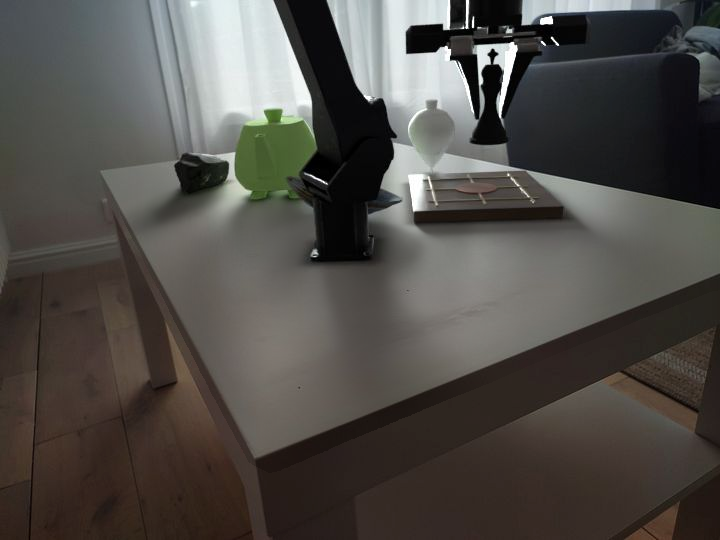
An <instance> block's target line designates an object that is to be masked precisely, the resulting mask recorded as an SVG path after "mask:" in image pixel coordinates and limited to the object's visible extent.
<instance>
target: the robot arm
mask: <svg viewBox="0 0 720 540" xmlns="http://www.w3.org/2000/svg"><path fill="white" fill-rule="evenodd" d="M272 1H273V3H274V5H275V8H276V11H277V14H278V16H279V18H280V21H281V24H282V26H283V29H284V31H285V34H286V37H287V39H288V42H289V45H290V47H291V49H292V52H293V54H294V56H295V60H296V63H297V65H298V68H299V70H300V73H301V76H302V78H303V80H304V82H305V85H306V88H307V91H308V93H309V96H310V101H311V123H312V124H311V125H312V126H311V127H312V133H313V135H314V137H315V141H316V146H317V150H316V151H315V152H314V154H313V155H312V156H311V157H310V159H309V160H308V161H307V163H306V164H305V165H304V167H303V168H302V169H301V170H300V172H299V176H300V178H301V181H302V183H303V185H304V187H305V189H306V190H308V191H311V192H313V193H314V195H313V197H312V198H313V208H312V209H313V219H314V230H315V241H314V244H313V247H312V249H311V251H310V254H309V260H310V261H315V262H316V261H350V260H351V261H353V260H371V259H372V258H373V255H374V254H373V253H374V245H375V244H374V243H375V242H374V241H375V235H373V234H370V232H369V231H370V229H369V214H368V206H367V202H368V201H374V200H377V198H378V194H379V191H380V188H381V187H382V183H383V180H384V177H385V174H386V173H387V171H388V170H389V169H390V167H391V164H392V161H394V158H395V148H394V142H393V139H397V138H398V134H396V133H395V131H394V130H393V128H392V126H391V124H390V121H389V117H388V115H389V114H388V110H387V105H386V103H385V100H384V98H382V97H375V96H367V95H364V93H363V92H362V91H361V89H359V87H358V85H357V83H356V82H355V78H354V75H353V73H352V70H351V67H350V63H349V61H348V58H347V55H346V52H345V49H344V46H343V44H342V41H341V37H340V35H339V31H338V29H337V26H336V22H335V20H334V18H333V14H332V11H331V9H330V8H331V7H330V6H329V3H328V0H272ZM523 1H524V0H448V1H447V2H448V4H447V5H448V6H447V28H448V29H444V23H429V24H427V23H426V24H414V25H413V24H412V25H409V27H408V28H407V29H406V30H405V55H418V54H433V53H434V54H436V53H437V52H438V51H439V50H440V48H445V51H447V54H445V61H449V62H455V64H456V67H457V68H458V71H459V73H460V76H461V77H462V80H463V83H464V85H465V86H464V87H465V88H466V92H467V93H466V94H467V96H468V99H469V103H470V106H471V111H472V113H473V117H474V120H475V121H478V120H479V118H480V116H481V93H480V77H479V61H478V54H477V53H474V51H473V50H474V49H475V46H487V45H488V46H489V45H490V46H491V45H506V44H509V47H510V50H505V67H504V74H503V80H502V81H503V82H502V87H501V95H500V102H499V117H500V119H501V120H504V119H505V118H506V116H507V114H508V111H509V109H510V107H511V105H512V102H513V99H514V97H515V94H516V92H517V90H518V88H519V85H520V83H521V81H522V80H523V77H524V75H525V74H526V72H527V70H528V69H529V67H530V64H531V63H532V61H533V59H534V58H535V57H542V56H544V50H542V49H541V48H540V47H541V45H542V44H543V45H544V46H572V45H573V46H574V45H589V44H590V41H591V30H592V25H591V19H590V18H589V17H588V16H587V14H574V15H573V14H572V15H557V16H554V15H553V16H548V17H542V18H541V19H540V23H536V24H535V23H534V24H523ZM508 30H512V31H511V32H507V31H508Z"/></svg>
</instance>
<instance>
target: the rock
mask: <svg viewBox="0 0 720 540" xmlns="http://www.w3.org/2000/svg"><path fill="white" fill-rule="evenodd" d="M173 167H174V171H175V174H176V177H177V179H178V181H179V187H180V189H181V190H183V191H184V192H185V193H187V194H188V193H191V192H196V191H200V190H201V189H205V188H209V187H210V188H211V187H213V186H217V185H221V184H223V183H225V181H227V179H228V175H229V174H230V173H229V171H230V162H229V161H228V160H226V159H221V158H220V157H218V156H215V155H212V154H208V153H196V152H184V153H182V154H181V157H180V158H179V160H178V161H177V162H175V163H174V165H173Z"/></svg>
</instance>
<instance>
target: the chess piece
mask: <svg viewBox="0 0 720 540" xmlns="http://www.w3.org/2000/svg"><path fill="white" fill-rule="evenodd" d="M486 55H487V57H489V61H490V63H489V64H488V63H487V64H485V65H484V66H483V67H482V69H481V72H480V75H481V78H482V83H481V84H479V88H480V90H481V93H482V95H483V101H484V102H483V107H482V108H483V109H482V112H481V113H480V117H479V120H477V122H476V125H475V127H474V129H473V130H472V132H471V136H470V137H469V138H468V139H469V140H468V142H469V143H470V144H472V145H476V146H498V145H505V144H508V143H509V141H510V139H509V137H508V136H507V135H508V133H507V131H506V129H505V127H504V125H503V122H502V119H501V118H500V113H499V111H498V105H497V104H498V103H497V101H498V96H499V94H500V92H501V91H502V87H503V83H502V82H501V78H502V75H503V68H502V67H501V65H500V64H499V63H495V59H496V57H498V56H499V52H498V51H496V49H495V48H491V49H490V51H489V52H487V54H486Z"/></svg>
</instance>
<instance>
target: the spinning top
mask: <svg viewBox="0 0 720 540" xmlns="http://www.w3.org/2000/svg"><path fill="white" fill-rule="evenodd" d="M407 127H408V128H407V132H408V133H407V134H408V137H409V140H410V142H411V144H412V146H413V148H414V150H415V151H416V153H417V155H418V156H419V157H420V159H421V160H422V161H423V163H424V164H425V165H426V166H427V167H428V168H429V174H433V168H435V167H436V166H437V165H438V163H439V162H440V161H441V159H442V158H443V156H444V155H445V154H446V152H447V151H448V149H449V147H450V145H451V143H452V142H453V139H454V137H455V133H456V126H455V121H454V119H453V118H452V117H451V115H450V114H449V113H448V112H447V111H445V110H443V109H441V108H438V99H435V98H432V99H431V98H430V99H426V100H425V108H424V109H421V110H419V111H418V112H416V113H415V115H414V116H413V117H412V118H411V120H410V121H409V123H408V126H407Z"/></svg>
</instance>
